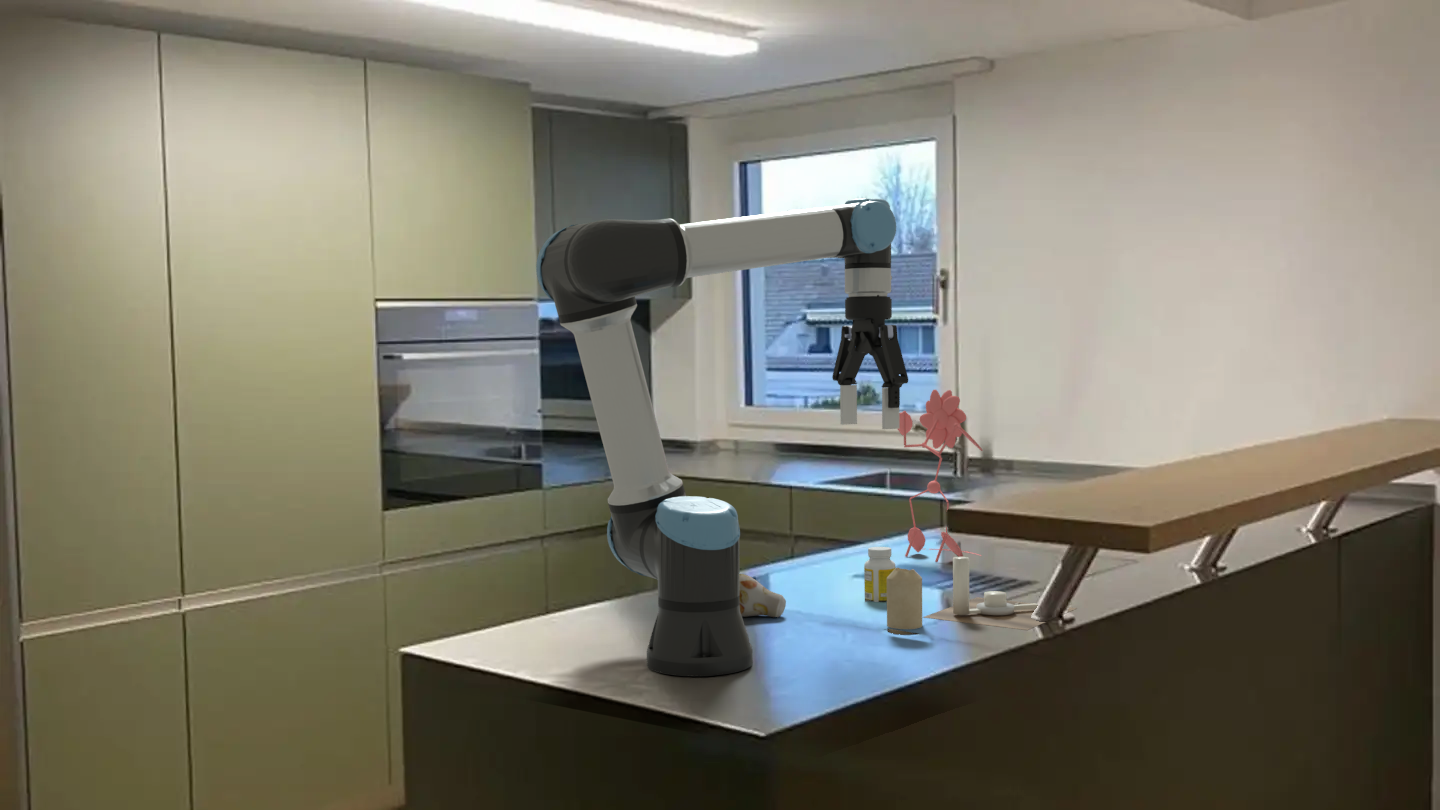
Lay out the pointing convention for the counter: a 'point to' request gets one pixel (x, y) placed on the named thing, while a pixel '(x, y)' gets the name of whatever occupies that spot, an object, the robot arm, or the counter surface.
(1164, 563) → the counter surface
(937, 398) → the figurine
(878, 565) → the supplement bottle
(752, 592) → the mug
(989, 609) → the handle
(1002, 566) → the counter surface
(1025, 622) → the board
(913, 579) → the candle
